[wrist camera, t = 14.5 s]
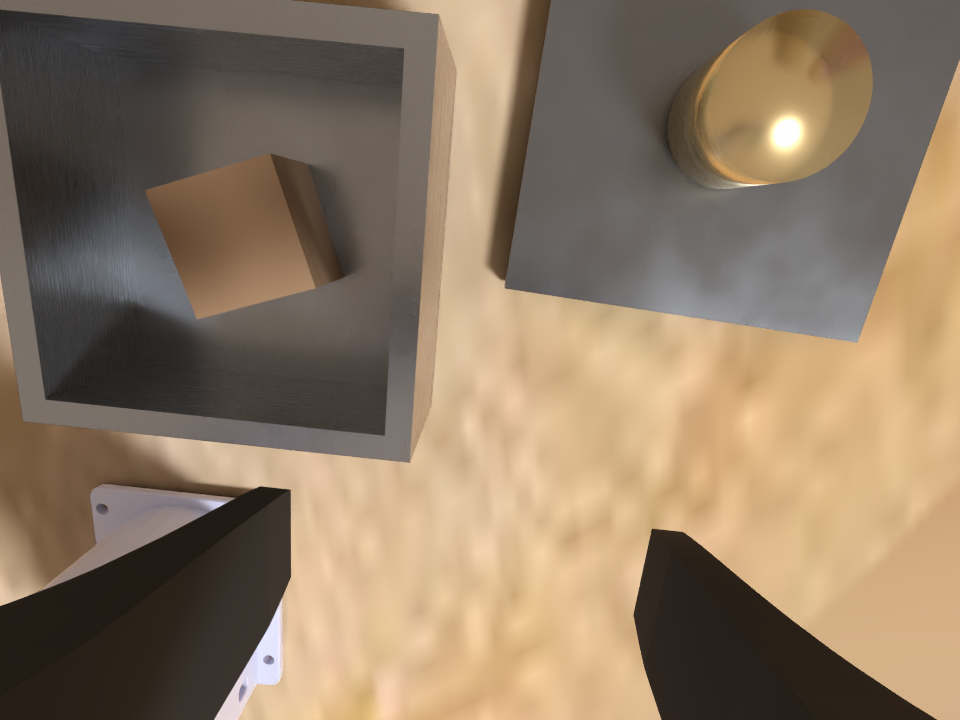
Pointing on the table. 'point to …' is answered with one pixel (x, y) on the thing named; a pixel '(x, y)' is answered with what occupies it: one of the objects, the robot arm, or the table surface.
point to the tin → (201, 148)
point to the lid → (729, 154)
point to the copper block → (246, 233)
